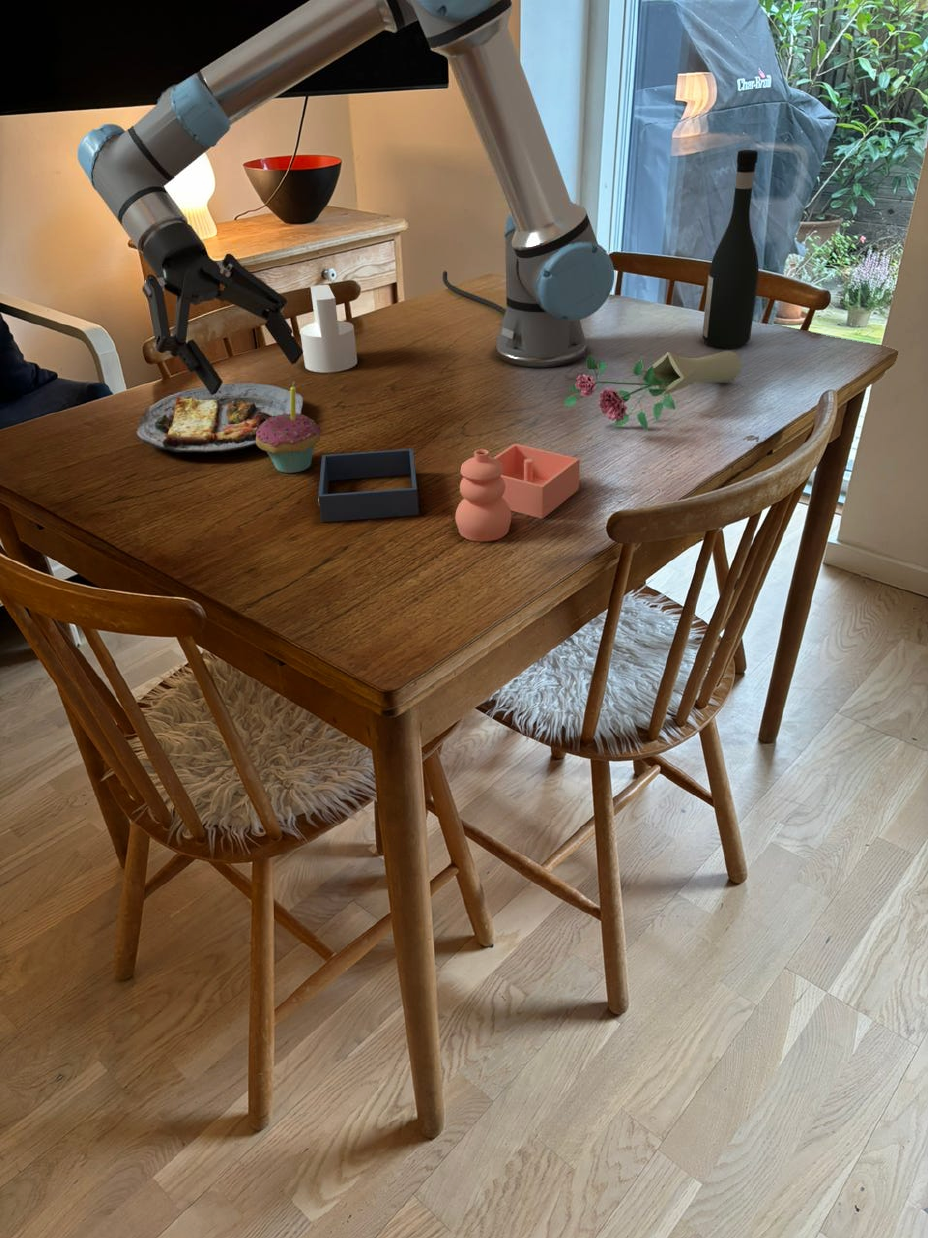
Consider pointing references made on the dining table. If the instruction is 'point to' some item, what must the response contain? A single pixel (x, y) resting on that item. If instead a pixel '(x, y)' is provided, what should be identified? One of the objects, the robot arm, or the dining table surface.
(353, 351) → the cylinder with rectangular tab
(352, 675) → the dining table surface
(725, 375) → the flower vase
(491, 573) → the dining table surface
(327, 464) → the rectangular frame
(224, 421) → the food plate
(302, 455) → the cupcake
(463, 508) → the pottery
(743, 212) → the wine bottle
